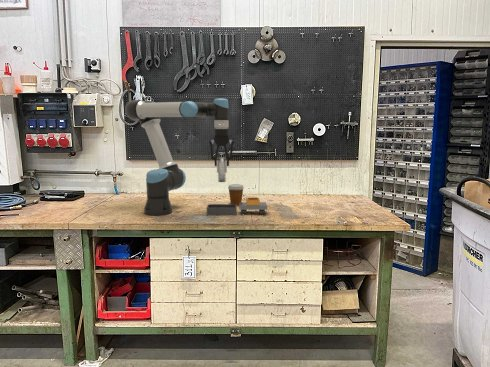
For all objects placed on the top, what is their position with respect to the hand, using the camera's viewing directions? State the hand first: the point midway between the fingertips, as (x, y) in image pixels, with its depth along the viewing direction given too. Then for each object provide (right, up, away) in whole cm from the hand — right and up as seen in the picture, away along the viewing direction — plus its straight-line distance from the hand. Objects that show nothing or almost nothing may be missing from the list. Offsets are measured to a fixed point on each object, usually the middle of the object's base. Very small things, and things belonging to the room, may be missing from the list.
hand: (221, 172), depth 203 cm
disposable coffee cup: (+7, -19, +24) cm, 32 cm away
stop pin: (0, -5, +1) cm, 5 cm away
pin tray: (0, -22, +4) cm, 23 cm away
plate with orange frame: (+17, -22, +4) cm, 28 cm away
